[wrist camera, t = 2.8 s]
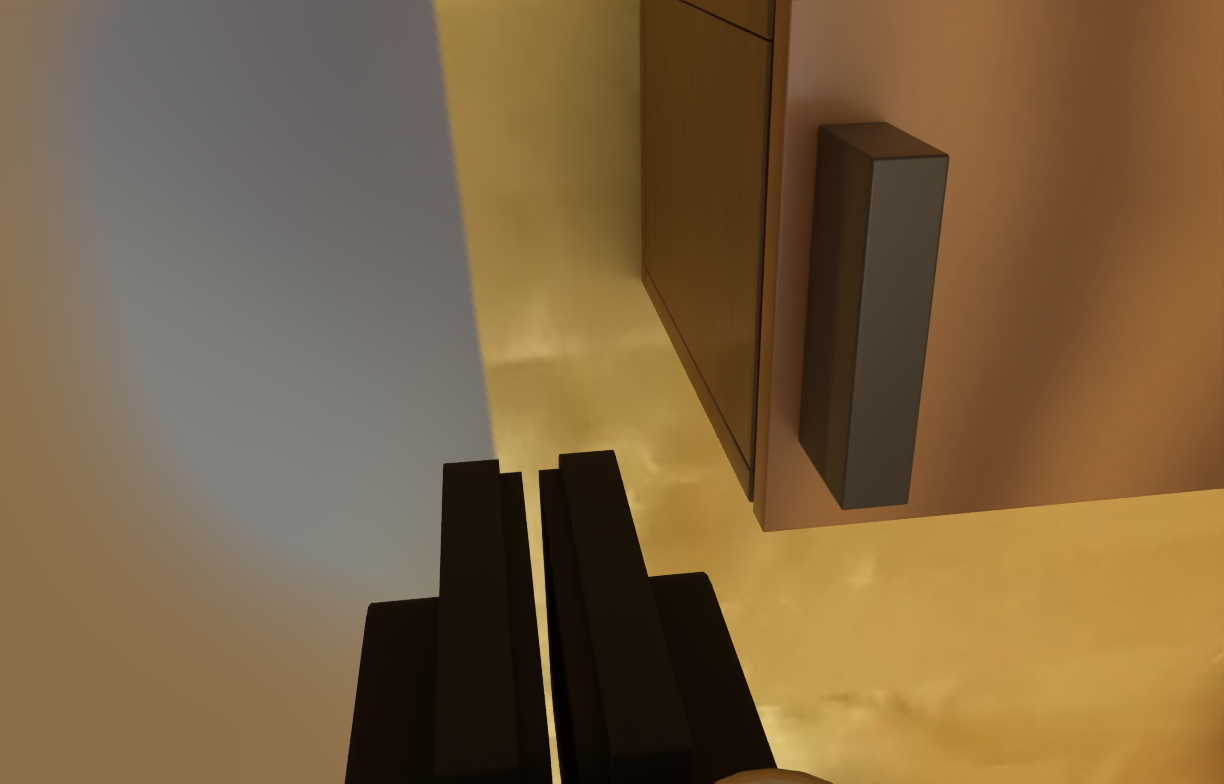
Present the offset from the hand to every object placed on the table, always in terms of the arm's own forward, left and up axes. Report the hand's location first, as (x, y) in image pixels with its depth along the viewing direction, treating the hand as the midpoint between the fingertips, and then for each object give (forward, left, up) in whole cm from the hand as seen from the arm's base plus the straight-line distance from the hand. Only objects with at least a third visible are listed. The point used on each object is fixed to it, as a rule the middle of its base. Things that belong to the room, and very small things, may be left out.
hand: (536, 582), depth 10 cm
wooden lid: (+9, -4, -9) cm, 13 cm away
